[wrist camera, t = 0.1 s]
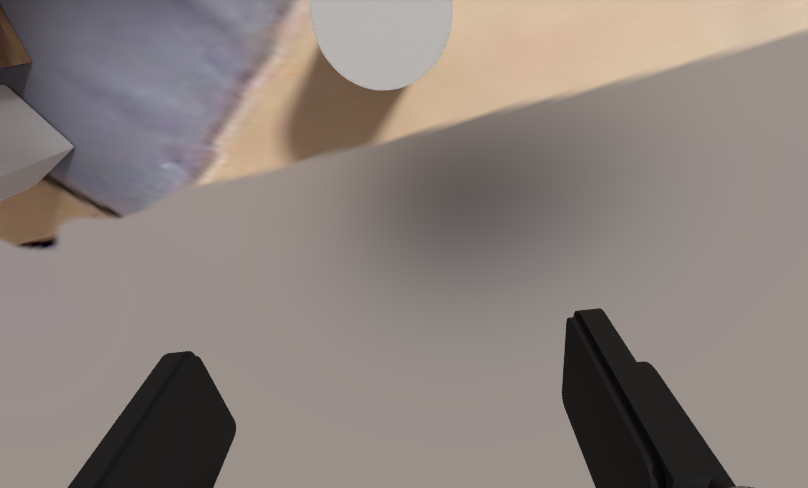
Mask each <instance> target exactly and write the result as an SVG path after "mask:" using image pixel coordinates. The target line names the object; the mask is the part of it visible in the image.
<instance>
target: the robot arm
mask: <svg viewBox="0 0 808 488" xmlns="http://www.w3.org/2000/svg"><path fill="white" fill-rule="evenodd" d="M562 399H563V404H564V407H565V410H566V413H567V415H568V418H569V420H570V423H571V425H572V428H573V430H574V433H575V436H576V438H577V441H578V443H579V446H580V448H581V451H582V454H583V456H584V459H585V461H586V464H587V466H588V469H589V471H590V474H591V477H592V479H593V482H594V484H595V487H596V488H753V487H745V486H737V487H736V486H735V484H734V483H733V481H732V480H731V478H730V477H729V475H728V474H727V472H726V471H725V470H724V468H723V467H722V465H721V464H720V462H719V461H718V459H717V458H716V456H715V455H714V454H713V452H712V451H711V449H710V448H709V446H708V445H707V443H706V442H705V440H704V439H703V438H702V436H701V435H700V433H699V432H698V430H697V429H696V427H695V426H694V424H693V423H692V422H691V420H690V419H689V417H688V416H687V414H686V413H685V411H684V410H683V409H682V407H681V406H680V404H679V403H678V401H677V400H676V398H675V397H674V395H673V394H672V393H671V391H670V390H669V388H668V387H667V385H666V384H665V382H664V381H663V379H662V378H661V376H660V375H659V374H658V372H657V371H656V370H655V368H654V367H653V366H652V365H651V364H649V363H648V362H636V360H635V359H634V357H633V356H632V354H631V353H630V351H629V350H628V348H627V346H626V345H625V343H624V342H623V340H622V339H621V337H620V336H619V334H618V332H617V331H616V330H615V328H614V326H613V325H612V323H611V322H610V320H609V319H608V317H607V315H606V314H605V312H604V311H603V310H602V309H600V308H599V309H590V310H580V311H575V313H574V317H572V318H568V319H567V322H566V338H565V355H564V368H563V384H562ZM235 432H236V424H235V421H234V419H233V417H232V415H231V413H230V411H229V410H228V408H227V406H226V404H225V402H224V400H223V399H222V397H221V395H220V393H219V391H218V390H217V388H216V386H215V384H214V382H213V380H212V378H211V377H210V375H209V373H208V371H207V369H206V367H205V366H204V364H203V362H202V360H201V359H200V358H199V357H198V356H195V355H194V353H192V352H190V351H186V352H177V353H168V354H166V355H164V356H163V357H162V358H161V359H160V361H159V362H158V364H157V365H156V366H155V368H154V369H153V370H152V372H151V374H150V375H149V376H148V378H147V379H146V380H145V382H144V383H143V384H142V386H141V387H140V389H139V390H138V391H137V393H136V394H135V395H134V397H133V398H132V400H131V401H130V402H129V404H128V405H127V406H126V408H125V409H124V411H123V412H122V414H121V415H120V416H119V418H118V419H117V420H116V422H115V423H114V424H113V426H112V427H111V429H110V430H109V431H108V433H107V434H106V435H105V437H104V438H103V440H102V441H101V443H100V444H99V445H98V447H97V448H96V449H95V451H94V452H93V453H92V455H91V456H90V458H89V459H88V460H87V462H86V463H85V465H84V466H83V467H82V469H81V470H80V471H79V473H78V474H77V476H76V477H75V478H74V480H73V481H72V482H71V484H70V485H69V487H68V488H213V487H214V484H215V482H216V479H217V477H218V475H219V472H220V470H221V467H222V465H223V463H224V460H225V458H226V455H227V453H228V451H229V448H230V446H231V444H232V441H233V439H234V436H235Z"/></svg>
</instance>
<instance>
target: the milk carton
mask: <svg viewBox="0 0 808 488" xmlns="http://www.w3.org/2000/svg"><path fill="white" fill-rule="evenodd" d="M73 148H74V146H73V145H72V144H71V143H70V142H69V141H68V140H67V139H66V138H64V137H63V136H62V135H61V134H60V133H59V132H58V131H57V130H56V129H54V128H53V127H52V126H51V125H50V124H49V123H48V122H47V121H46V120H44V119H43V118H42V117H41V116H40V115H39V114H38V113H37V112H35V111H34V110H33V109H32V108H31V107H30V106H29V105H28V104H27V103H25V102H24V101H23V100H22V99H21V98H20V97H19V96H18V95H17V94H15V93H14V92H13V91H12V90H11V89H10V88H9V87H7V86H6V85H0V202H1V201H3V200H6V199H8V198H10V197H12V196H14V195H17V194H19V193H21V192H23V191H25V190H27V189H30V188H32V187H34V186H36V185H37V184H38V183H39V182H40V181H41V180H42V179H43V178H44V177H45V176H46V175H47V174H48V173H49V172H50V171H51V170H52V169H53V168H54V167H55V166H56V165H57V164H58V163H59V162H60V161H61V160H62V159H63V158H64V157H65V156H66V155H67V154H68V153H69V152H70V151H71V150H72V149H73Z"/></svg>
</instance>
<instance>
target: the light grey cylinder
mask: <svg viewBox="0 0 808 488" xmlns="http://www.w3.org/2000/svg"><path fill="white" fill-rule="evenodd" d="M310 15H311V22H312V27H313V31H314V35H315V38H316V40H317V43H318V45H319V47H320V49H321V51H322V53H323V54H324V56H325V58H326V59H327V60H328V62H329V63H330V64H331V65H332V67H333V68H334V69H335V70H336V71H337V72H338V73H340V74H341V75H342V76H343V77H345V78H346V79H348V80H349V81H351V82H353V83H354V84H357V85H359V86H361V87H364V88H368V89H373V90H394V89H399V88H402V87H405V86H407V85H410V84H412V83H414V82H415V81H417V80H418V79H420V78H421V77H423V76H424V75H425V74H426V73H427V72H428V71H429V70H430V69H431V68H432V67H433V66H434V65H435V63H436V62H437V60H438V59H439V57H440V56H441V54H442V52H443V50H444V48H445V46H446V43H447V40H448V37H449V34H450V29H451V23H452V0H310Z"/></svg>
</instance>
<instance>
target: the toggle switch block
mask: <svg viewBox="0 0 808 488" xmlns="http://www.w3.org/2000/svg"><path fill="white" fill-rule="evenodd" d="M28 63H32V61H31V59H30V58H29V56H28V54H27V52H26V50H25V49H24V47H23V45H22V43H21V41H20V40H19V38H18V36H17V34H16V32H15V30H14V29H13V27H12V25H11V23H10V21H9V20H8V18H7V16H6V14H5V12H4V11H3V9H2V7H1V5H0V68H4V67H10V66H16V65H22V64H28Z"/></svg>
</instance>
